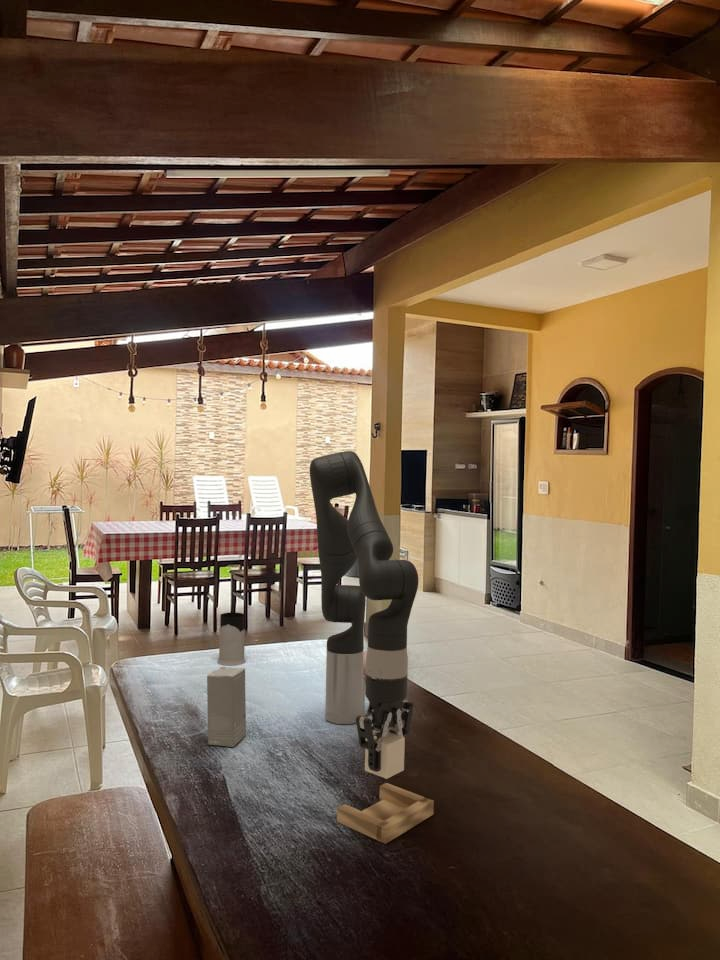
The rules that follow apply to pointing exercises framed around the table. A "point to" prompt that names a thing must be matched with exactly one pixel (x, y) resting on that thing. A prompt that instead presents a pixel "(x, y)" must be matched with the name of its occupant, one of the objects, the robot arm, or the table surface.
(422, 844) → the table surface
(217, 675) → the skincare box
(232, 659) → the glass holder
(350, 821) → the rest cradle
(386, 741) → the block
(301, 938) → the table surface
